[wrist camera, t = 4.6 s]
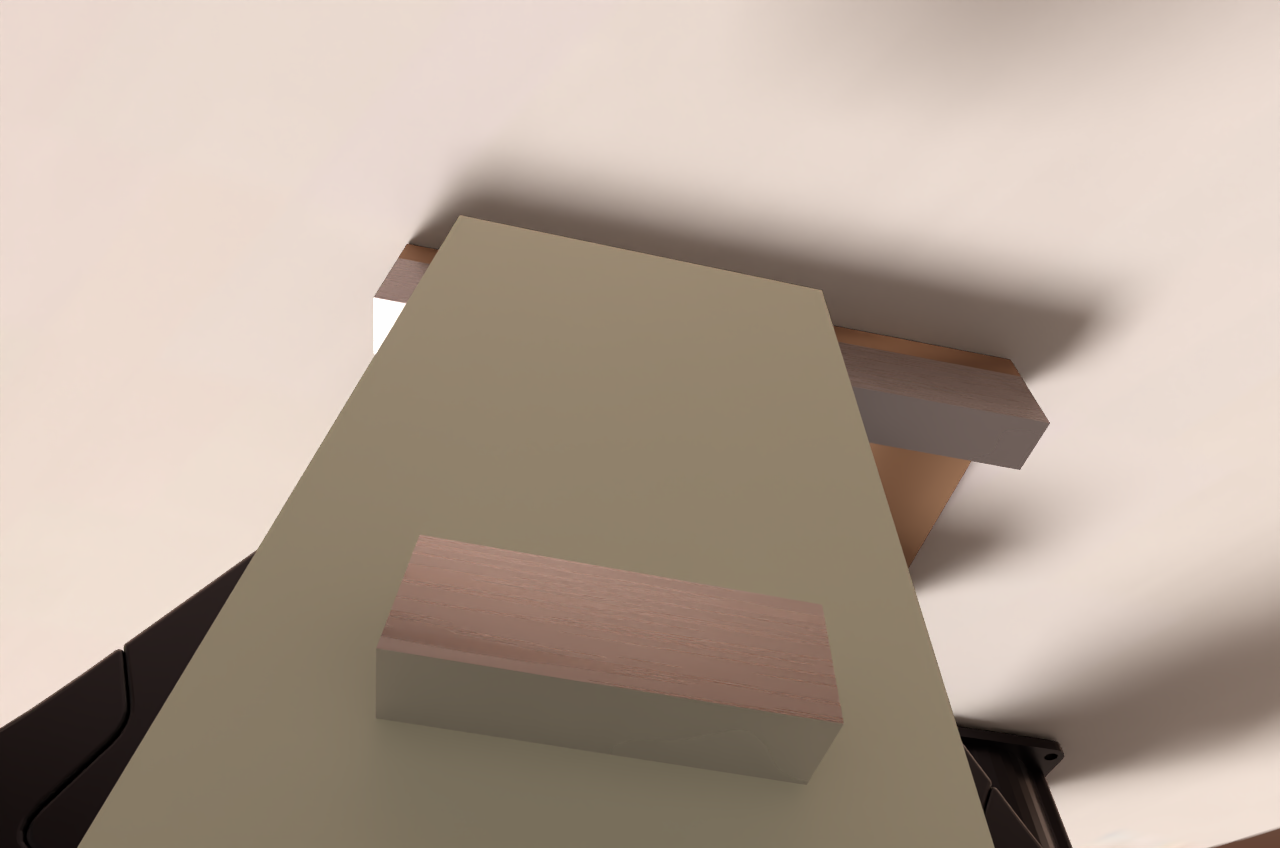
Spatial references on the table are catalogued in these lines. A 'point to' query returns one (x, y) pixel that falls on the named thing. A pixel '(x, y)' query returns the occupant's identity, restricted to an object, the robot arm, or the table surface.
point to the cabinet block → (571, 591)
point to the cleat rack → (881, 407)
